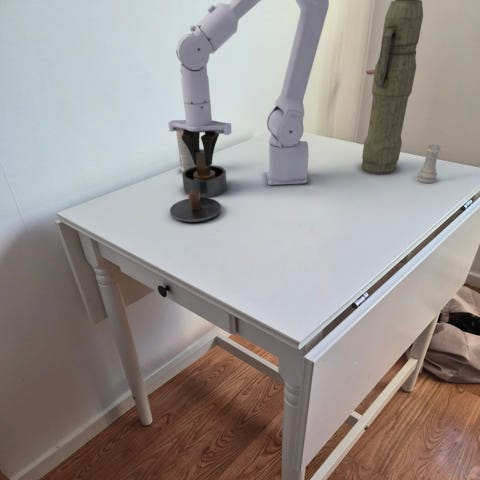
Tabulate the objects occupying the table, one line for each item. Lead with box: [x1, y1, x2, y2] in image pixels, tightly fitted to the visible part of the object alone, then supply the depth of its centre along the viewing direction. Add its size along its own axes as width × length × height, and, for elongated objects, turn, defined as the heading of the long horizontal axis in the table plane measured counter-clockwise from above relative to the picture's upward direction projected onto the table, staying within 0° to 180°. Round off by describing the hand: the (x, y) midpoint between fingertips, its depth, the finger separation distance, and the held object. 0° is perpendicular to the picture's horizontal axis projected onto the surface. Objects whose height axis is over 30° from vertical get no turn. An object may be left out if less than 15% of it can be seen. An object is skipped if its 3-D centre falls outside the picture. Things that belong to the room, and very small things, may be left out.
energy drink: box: [175, 131, 197, 173], centre depth 110 cm, size 5×5×12 cm
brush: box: [193, 148, 215, 180], centre depth 100 cm, size 5×5×8 cm
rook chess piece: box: [416, 143, 442, 184], centre depth 99 cm, size 4×4×8 cm
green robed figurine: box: [360, 0, 424, 176], centre depth 98 cm, size 9×12×35 cm
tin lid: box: [169, 190, 222, 223], centre depth 92 cm, size 11×11×5 cm
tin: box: [181, 164, 228, 198], centre depth 102 cm, size 10×10×4 cm
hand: (203, 164), depth 100 cm, fingers closed on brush, 2 cm apart
